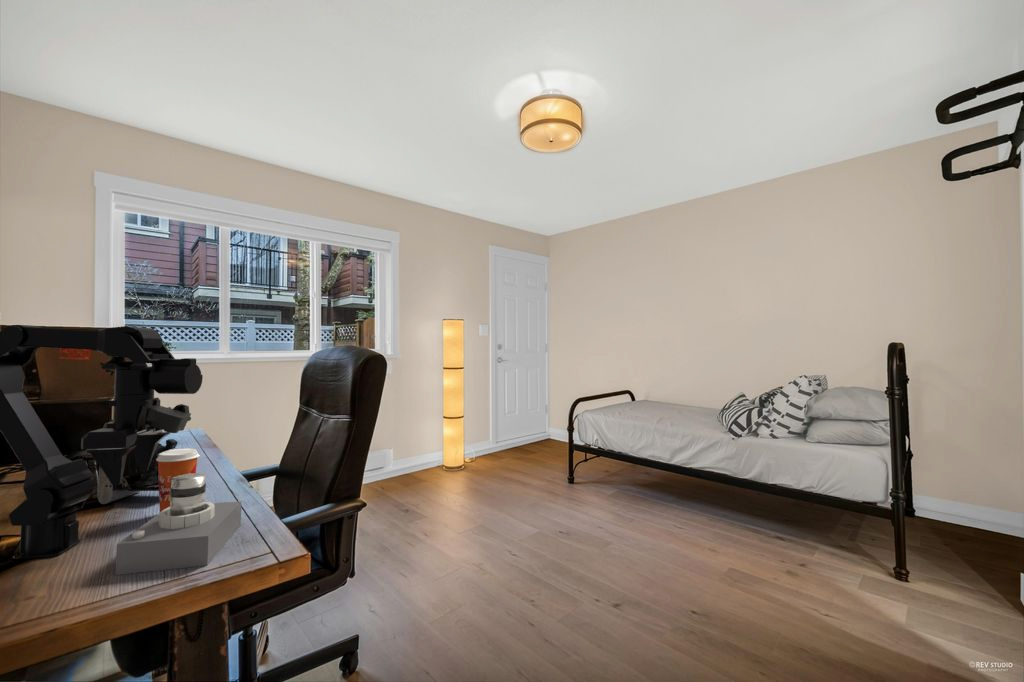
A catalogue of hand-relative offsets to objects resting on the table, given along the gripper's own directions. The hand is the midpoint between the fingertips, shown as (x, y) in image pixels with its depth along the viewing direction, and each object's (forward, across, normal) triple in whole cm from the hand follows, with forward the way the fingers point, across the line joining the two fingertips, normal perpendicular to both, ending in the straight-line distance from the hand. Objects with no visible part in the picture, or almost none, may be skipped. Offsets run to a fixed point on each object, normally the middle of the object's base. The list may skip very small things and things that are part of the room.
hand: (131, 477), depth 81 cm
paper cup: (+13, +17, -1) cm, 22 cm away
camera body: (+13, -2, -10) cm, 17 cm away
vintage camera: (+13, +31, +11) cm, 35 cm away
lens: (+8, -2, -10) cm, 13 cm away
